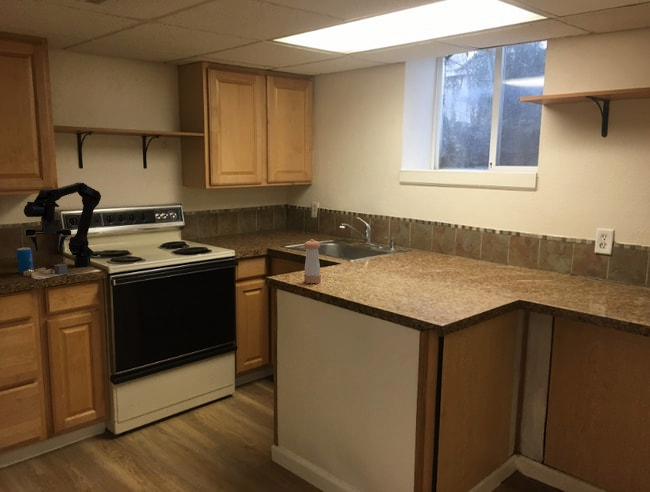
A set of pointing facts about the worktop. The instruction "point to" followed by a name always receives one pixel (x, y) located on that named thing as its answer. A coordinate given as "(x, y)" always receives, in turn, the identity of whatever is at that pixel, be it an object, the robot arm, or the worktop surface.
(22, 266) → the beverage can
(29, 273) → the brass knob strip
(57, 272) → the block
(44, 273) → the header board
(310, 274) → the pepper shaker
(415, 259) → the worktop surface
